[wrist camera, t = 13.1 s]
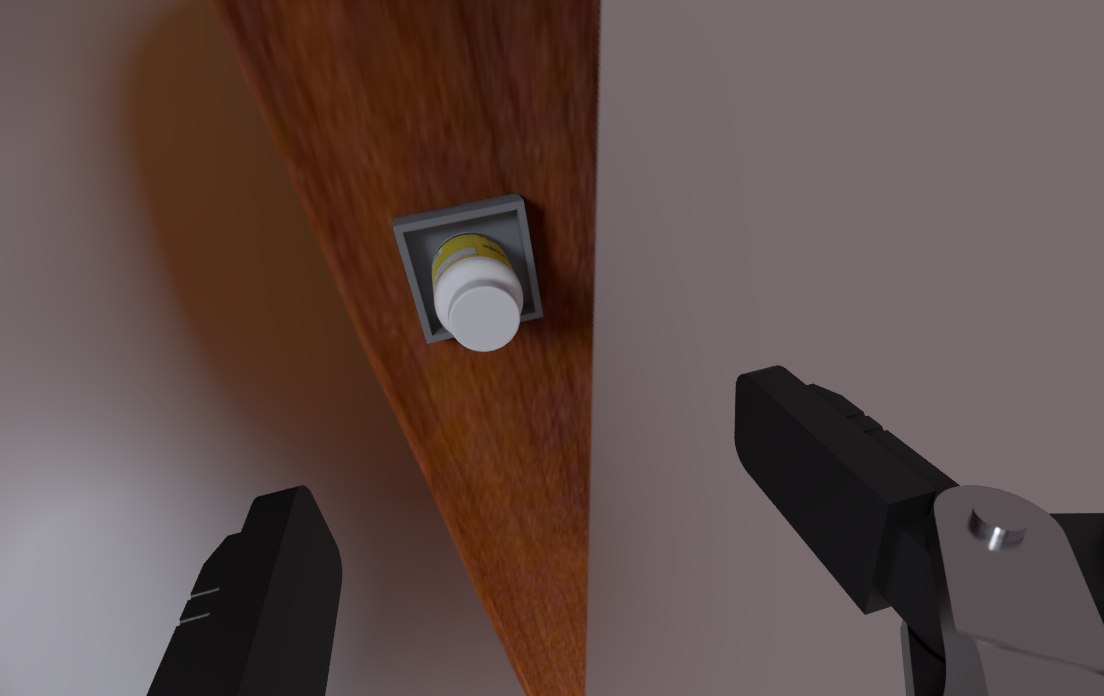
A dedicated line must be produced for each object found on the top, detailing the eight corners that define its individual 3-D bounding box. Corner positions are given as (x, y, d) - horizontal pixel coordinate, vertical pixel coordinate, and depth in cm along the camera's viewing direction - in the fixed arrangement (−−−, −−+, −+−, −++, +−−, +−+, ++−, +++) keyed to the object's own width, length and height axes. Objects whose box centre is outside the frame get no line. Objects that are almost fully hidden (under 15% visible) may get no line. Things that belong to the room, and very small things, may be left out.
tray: (394, 217, 36) (392, 226, 34) (517, 193, 37) (523, 200, 35) (426, 329, 41) (427, 343, 38) (537, 304, 42) (543, 316, 40)
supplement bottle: (519, 280, 40) (547, 337, 31) (454, 314, 40) (465, 379, 31) (486, 215, 37) (506, 257, 29) (416, 251, 37) (416, 304, 29)
